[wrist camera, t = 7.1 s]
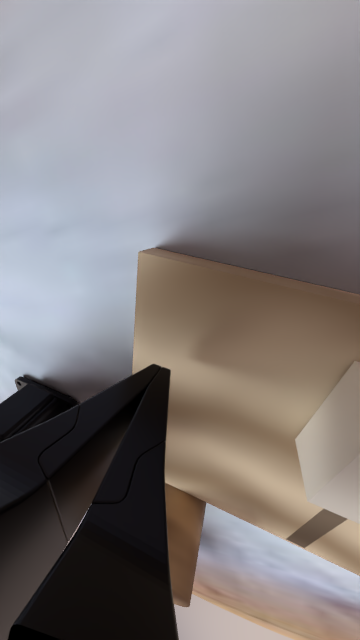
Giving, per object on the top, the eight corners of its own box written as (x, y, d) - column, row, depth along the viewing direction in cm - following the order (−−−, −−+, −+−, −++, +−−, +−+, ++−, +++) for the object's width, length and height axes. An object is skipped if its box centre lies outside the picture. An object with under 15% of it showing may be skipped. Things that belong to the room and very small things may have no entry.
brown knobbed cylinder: (202, 501, 18) (181, 627, 13) (162, 482, 19) (125, 592, 13) (213, 481, 16) (192, 618, 11) (167, 460, 17) (126, 578, 11)
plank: (397, 565, 14) (412, 601, 12) (136, 446, 18) (127, 464, 16) (823, 400, 5) (1003, 456, 4) (154, 247, 9) (138, 251, 8)
